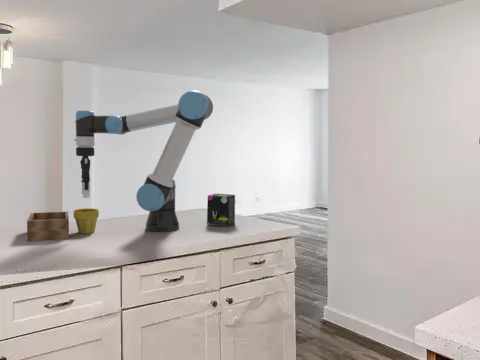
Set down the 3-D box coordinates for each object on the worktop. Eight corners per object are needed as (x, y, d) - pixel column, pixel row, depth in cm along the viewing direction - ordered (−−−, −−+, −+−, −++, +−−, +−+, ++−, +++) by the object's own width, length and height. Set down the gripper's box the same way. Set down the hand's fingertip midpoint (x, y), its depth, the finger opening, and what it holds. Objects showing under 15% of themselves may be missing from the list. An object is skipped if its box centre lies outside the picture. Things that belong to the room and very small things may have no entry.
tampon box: (206, 225, 221) (206, 195, 219) (214, 222, 229) (215, 193, 228) (227, 227, 216) (227, 196, 215) (235, 224, 225) (235, 194, 224)
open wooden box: (68, 228, 208) (68, 211, 207) (69, 238, 187) (68, 219, 186) (31, 230, 202) (30, 212, 202) (27, 241, 181) (26, 221, 181)
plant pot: (91, 235, 195) (90, 212, 194) (69, 233, 197) (68, 211, 196) (103, 230, 205) (103, 208, 204) (82, 229, 207) (81, 207, 206)
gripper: (75, 146, 208) (75, 192, 210) (76, 147, 185) (77, 199, 187) (92, 146, 211) (93, 192, 212) (96, 147, 188) (96, 198, 189)
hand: (85, 195), depth 199 cm, fingers open, 13 cm apart
